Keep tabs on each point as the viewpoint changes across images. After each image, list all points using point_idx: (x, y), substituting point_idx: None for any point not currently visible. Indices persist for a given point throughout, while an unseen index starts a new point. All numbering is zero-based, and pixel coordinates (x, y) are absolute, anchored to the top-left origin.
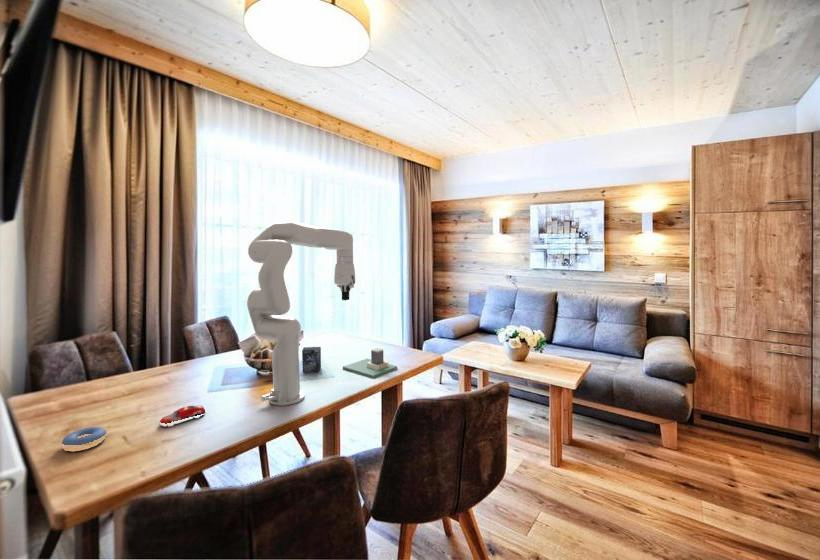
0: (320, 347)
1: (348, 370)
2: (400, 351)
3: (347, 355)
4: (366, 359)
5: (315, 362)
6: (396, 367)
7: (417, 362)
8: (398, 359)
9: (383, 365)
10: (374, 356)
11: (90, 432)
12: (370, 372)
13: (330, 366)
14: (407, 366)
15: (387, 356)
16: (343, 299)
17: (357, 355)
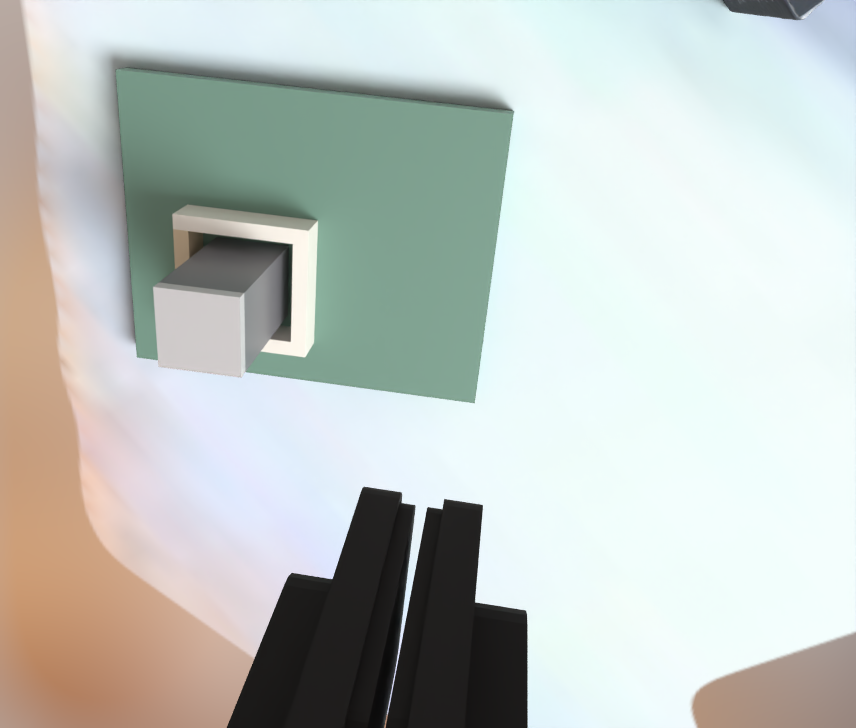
0: (786, 5)
1: (435, 102)
2: None
3: (735, 432)
4: (461, 379)
5: None
6: (140, 346)
7: (135, 525)
8: (290, 524)
9: None
10: (216, 272)
11: None
12: (191, 122)
13: (675, 107)
14: (127, 426)
15: None
16: (392, 499)
17: (649, 469)
